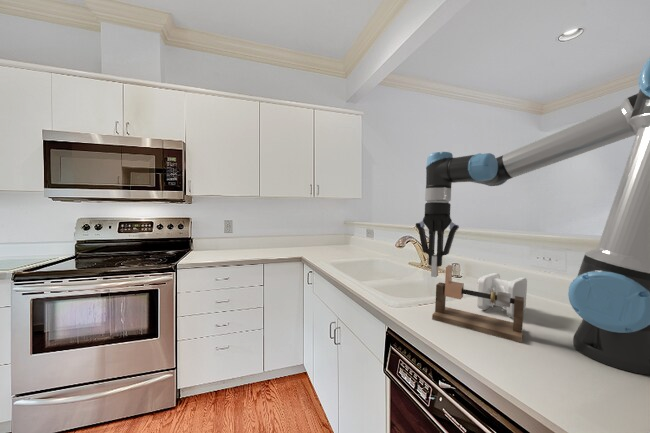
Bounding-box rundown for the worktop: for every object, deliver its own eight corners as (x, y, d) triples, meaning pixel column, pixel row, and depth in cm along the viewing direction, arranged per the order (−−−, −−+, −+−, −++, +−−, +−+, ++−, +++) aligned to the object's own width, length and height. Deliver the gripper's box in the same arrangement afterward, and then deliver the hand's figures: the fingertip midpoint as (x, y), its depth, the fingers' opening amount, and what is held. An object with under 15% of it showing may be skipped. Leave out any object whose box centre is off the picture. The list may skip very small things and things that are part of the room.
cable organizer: (511, 321, 83) (513, 283, 82) (474, 310, 91) (476, 276, 91) (526, 311, 92) (528, 277, 92) (492, 302, 100) (493, 271, 100)
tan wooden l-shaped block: (463, 296, 83) (464, 267, 83) (460, 299, 80) (462, 269, 80) (447, 293, 86) (448, 265, 85) (444, 296, 83) (445, 266, 82)
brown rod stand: (522, 329, 77) (524, 293, 76) (521, 342, 69) (523, 302, 68) (440, 310, 90) (442, 279, 90) (432, 319, 82) (433, 285, 82)
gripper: (462, 202, 85) (459, 277, 85) (420, 202, 92) (417, 270, 93) (457, 201, 79) (454, 281, 79) (413, 201, 86) (410, 274, 87)
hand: (434, 275), depth 86 cm, fingers closed
